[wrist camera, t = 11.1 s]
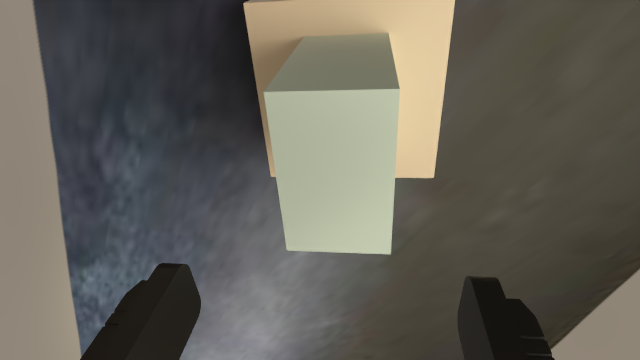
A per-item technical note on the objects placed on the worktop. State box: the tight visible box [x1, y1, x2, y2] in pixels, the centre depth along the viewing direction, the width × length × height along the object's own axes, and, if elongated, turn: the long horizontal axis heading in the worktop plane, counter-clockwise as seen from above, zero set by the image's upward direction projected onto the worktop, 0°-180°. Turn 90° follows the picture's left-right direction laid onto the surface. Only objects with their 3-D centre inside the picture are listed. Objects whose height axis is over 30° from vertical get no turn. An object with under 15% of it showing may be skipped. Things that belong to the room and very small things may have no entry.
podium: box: [243, 0, 455, 178], centre depth 26 cm, size 12×12×6 cm
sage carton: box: [264, 33, 400, 254], centre depth 20 cm, size 8×5×10 cm, turn 3°
